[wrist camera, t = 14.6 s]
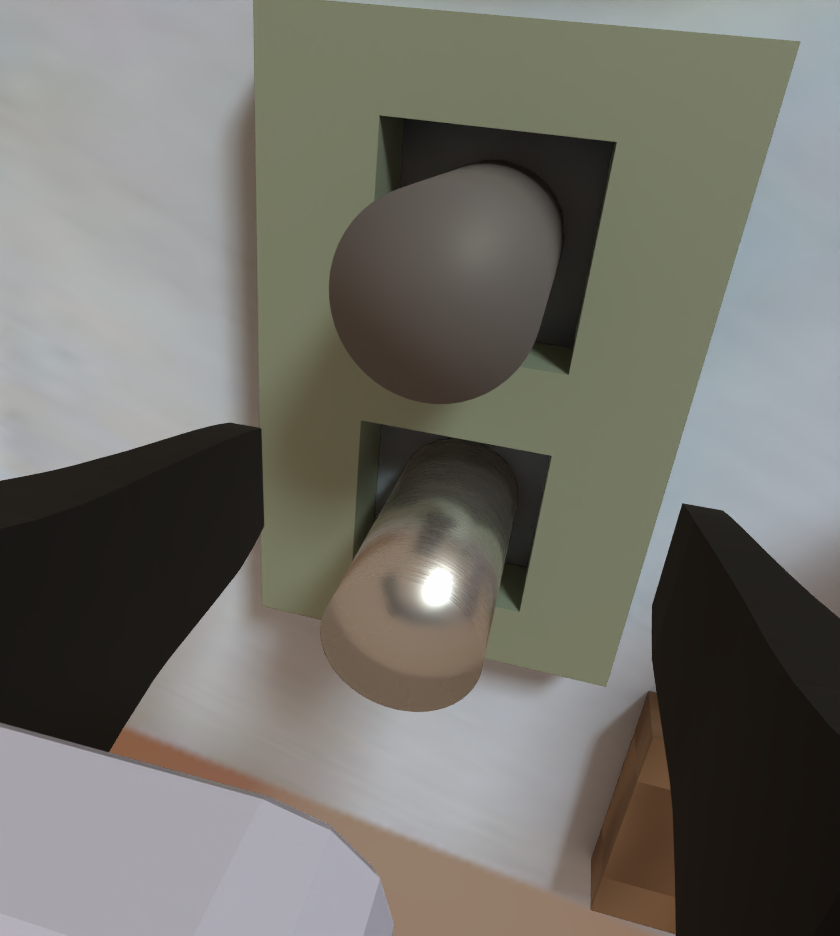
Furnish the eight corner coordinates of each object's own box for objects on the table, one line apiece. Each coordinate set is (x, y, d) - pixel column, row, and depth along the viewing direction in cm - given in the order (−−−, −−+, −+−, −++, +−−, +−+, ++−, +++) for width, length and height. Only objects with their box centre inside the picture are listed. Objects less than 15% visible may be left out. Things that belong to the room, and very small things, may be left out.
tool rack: (773, 52, 16) (903, 0, 9) (605, 636, 25) (607, 839, 18) (294, 9, 18) (105, -60, 11) (289, 566, 27) (179, 724, 20)
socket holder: (1010, 775, 23) (1047, 834, 22) (889, 941, 28) (910, 1001, 26) (648, 691, 25) (652, 738, 23) (591, 859, 30) (590, 909, 28)
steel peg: (543, 495, 23) (518, 659, 16) (463, 562, 25) (410, 735, 18) (454, 414, 22) (387, 547, 15) (379, 489, 24) (290, 638, 17)
